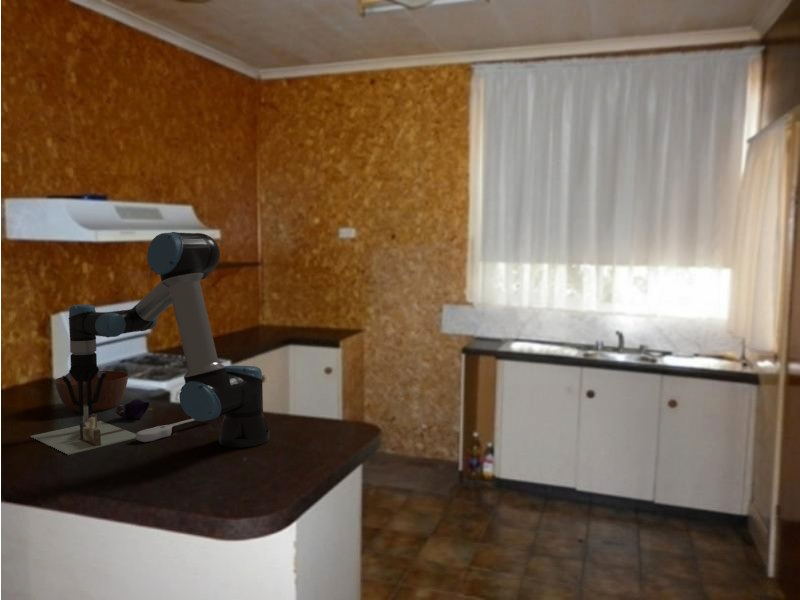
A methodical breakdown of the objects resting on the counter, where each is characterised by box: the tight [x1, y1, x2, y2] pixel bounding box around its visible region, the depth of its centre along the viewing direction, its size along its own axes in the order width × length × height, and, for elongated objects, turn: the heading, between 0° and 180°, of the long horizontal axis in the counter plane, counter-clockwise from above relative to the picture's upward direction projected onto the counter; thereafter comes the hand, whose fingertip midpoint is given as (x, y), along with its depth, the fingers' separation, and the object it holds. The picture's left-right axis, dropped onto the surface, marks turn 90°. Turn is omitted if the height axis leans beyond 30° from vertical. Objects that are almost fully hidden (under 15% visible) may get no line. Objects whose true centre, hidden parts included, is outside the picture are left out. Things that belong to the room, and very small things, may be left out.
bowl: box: [54, 370, 129, 413], centre depth 236 cm, size 25×25×11 cm
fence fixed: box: [79, 421, 101, 446], centre depth 191 cm, size 11×1×6 cm, turn 50°
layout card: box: [30, 420, 136, 456], centre depth 198 cm, size 28×22×1 cm
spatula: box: [135, 418, 196, 443], centre depth 202 cm, size 28×6×3 cm, turn 145°
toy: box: [114, 397, 154, 420], centre depth 220 cm, size 11×12×7 cm
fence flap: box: [85, 413, 98, 429], centre depth 201 cm, size 11×1×4 cm, turn 11°
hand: (85, 425), depth 203 cm, fingers closed
